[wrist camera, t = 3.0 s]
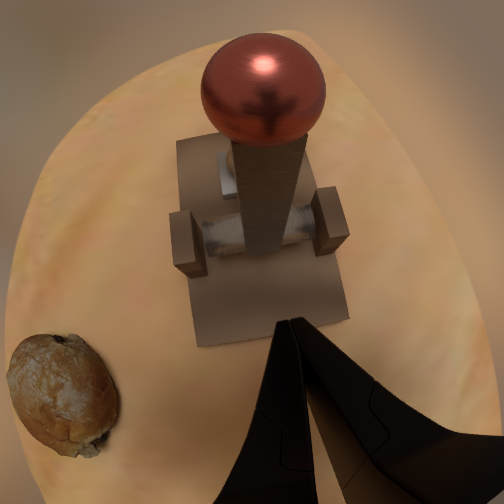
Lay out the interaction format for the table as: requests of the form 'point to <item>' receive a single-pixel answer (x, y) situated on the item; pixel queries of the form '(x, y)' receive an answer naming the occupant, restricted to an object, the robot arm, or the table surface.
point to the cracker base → (256, 267)
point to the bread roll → (62, 393)
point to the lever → (262, 139)
